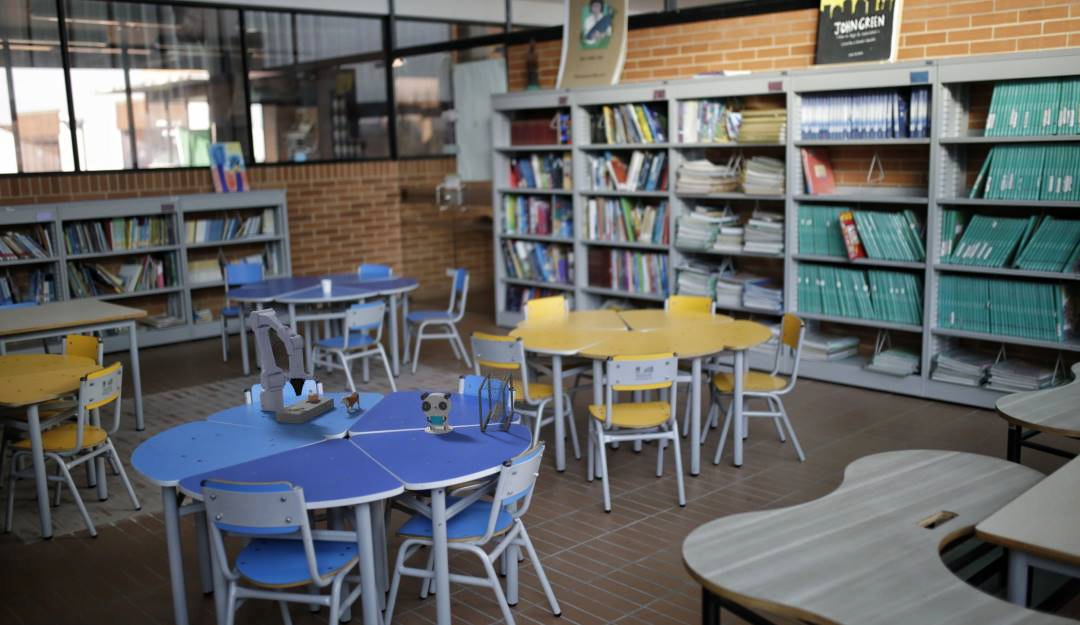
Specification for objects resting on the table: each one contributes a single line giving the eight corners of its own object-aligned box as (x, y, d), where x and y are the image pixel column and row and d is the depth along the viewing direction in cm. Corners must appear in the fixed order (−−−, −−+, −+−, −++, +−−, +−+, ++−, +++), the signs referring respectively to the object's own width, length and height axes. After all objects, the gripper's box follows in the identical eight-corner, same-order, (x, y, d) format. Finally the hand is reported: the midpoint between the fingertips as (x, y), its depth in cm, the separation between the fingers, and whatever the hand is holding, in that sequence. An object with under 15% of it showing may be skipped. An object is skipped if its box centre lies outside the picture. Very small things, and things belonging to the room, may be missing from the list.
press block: (276, 421, 402) (275, 412, 401) (310, 405, 426) (310, 396, 425) (300, 423, 398) (300, 414, 397) (334, 406, 422) (333, 398, 421)
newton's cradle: (506, 432, 377) (504, 388, 374) (480, 433, 378) (477, 389, 374) (513, 411, 406) (512, 370, 403) (489, 411, 407) (487, 370, 404)
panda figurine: (419, 433, 379) (416, 396, 377) (428, 425, 390) (426, 389, 388) (447, 434, 377) (445, 397, 374) (457, 426, 387) (455, 390, 385)
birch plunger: (289, 417, 405) (288, 409, 404) (295, 414, 409) (294, 406, 408) (298, 418, 403) (297, 410, 402) (304, 415, 407) (303, 407, 407)
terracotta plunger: (306, 403, 416) (305, 395, 416) (312, 400, 420) (311, 392, 420) (315, 403, 415) (314, 396, 414) (320, 401, 419) (320, 393, 418)
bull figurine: (339, 415, 409) (337, 396, 408) (354, 406, 422) (352, 388, 420) (348, 415, 408) (347, 397, 406) (363, 407, 420) (362, 389, 419)
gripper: (276, 365, 403) (278, 396, 406) (305, 367, 398) (308, 399, 401) (286, 361, 410) (288, 392, 412) (315, 363, 405) (317, 394, 407)
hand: (298, 395), depth 407 cm, fingers closed
